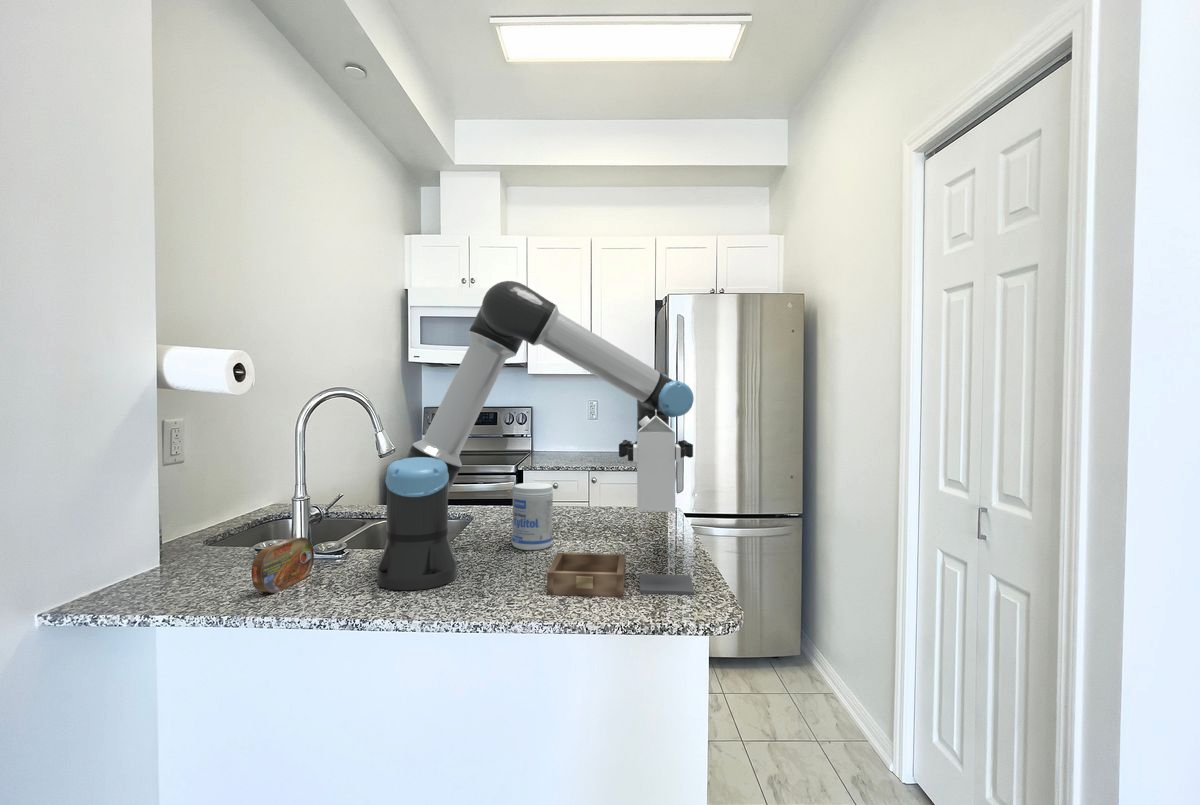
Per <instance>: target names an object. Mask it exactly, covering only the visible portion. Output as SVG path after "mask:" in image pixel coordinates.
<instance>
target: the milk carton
mask: <svg viewBox="0 0 1200 805" xmlns="http://www.w3.org/2000/svg"><path fill="white" fill-rule="evenodd" d="M639 424H640V425H641V428H640V429H639V430H638V432H637V431H636V441H637V462H636V463H637V464H636V466H637V468H636V476H637V477H636V485H637V486H636V489H637V494H636V498H637V499H636V500H637V501H636V502H637V504H636V508H637V509H636V510H637V512H651V513H653V512H657V513H659V512H660V513H661V512H664V513H668V512H670V513H671V512H672V513H673V512H676V460H675V443H676V432H675V430H674V429H673V428H672V427H671V426H670V425H669V426H668V425H667V424H666V423H665V422H664V421H662V420H661V419H660V418H659V417H658V416H657V411H656V410H655V416H654V417H653V418H652V419H651V420H650V419H649V418H648V417H647V416H646V417H644V418H643V419H642V420H641V421H640V422H639Z"/></svg>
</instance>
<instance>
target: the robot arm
mask: <svg viewBox="0 0 1200 805" xmlns="http://www.w3.org/2000/svg"><path fill="white" fill-rule="evenodd" d="M467 333H468V336H469V339H470V344H469V346H468V348H467V350H466V352H465V354H464V355H463V358H462V360H461V362H460V364H459V366H458V368H457V369H456V370H457V371H456V372H455V374H454V376H453V378H452V380H451V383H450V385H449V386H448V388H447V390H446V392H445V394H444V397H443V398H442V399H441V403H440V404H439V406H438V409H437V410H436V412H435V414H434V416H433V418H432V420H431V423H430V424H429V426H428V429H427V431H426V433H425V434H424V436H423V438H422V439H421V440H418V441H416V442H413V443H412V445H411V447H410V449H409V451H408V453H407V455H406V457H405V458H402V459H398V460H395V461H393V462H391V463H390V464H389V465H388V466H387V469H386V476H385V481H384V482H385V484H386V542H385V546H384V549H383V552H382V555H381V559H380V561H379V564H378V568H377V572H376V575H377V576H376V581H377V582H376V583H377V585H379V586H380V587H382V588H384V589H387V590H388V589H389V590H392V591H393V590H396V591H419V590H426V589H432V588H436V587H440V586H443V585H447V584H449V583H451V582H453V581H455V580H456V578H457V575H458V568H457V567H458V565H457V561H456V558H455V555H454V552H453V548H452V547H451V544H450V540H449V531H448V528H449V513H448V512H449V509H448V507H449V493H450V491H451V488H452V486H453V485H454V483H455V481H456V479H457V477H458V474H459V472H460V470H461V469H462V466H463V463H462V460H461V458H460V455H461V452H462V451H463V448H464V446H465V444H466V442H467V441H468V439H469V436H470V434H471V432H472V430H473V428H474V426H475V423H476V422H477V420H478V418H479V416H480V413H481V411H482V409H483V408H484V406H485V404H486V401H487V399H488V397H489V395H490V393H491V391H492V390H493V387H494V385H495V383H496V381H497V379H498V377H499V375H500V373H501V370H502V369H503V366H505V363H506V361H507V360H508V359H511V358H513V357H516V355H517V353H518V351H519V349H520V347H521V346H522V344H523V341H525V342H527V343H528V344H530V345H532V346H538V345H539V346H540V345H541V346H543V347H545V348H546V349H548V350H550V351H552V352H554V353H556V354H557V355H559V356H561V357H562V358H564V359H566V360H567V361H570V362H571V363H573V364H575V365H577V366H578V367H579V368H582V369H583V370H585V371H587V372H588V373H590V374H592V375H595V376H596V377H598V378H599V379H601V380H603V381H605V382H606V383H608V384H609V385H612V386H614V387H615V388H617V389H618V390H620V391H622V392H624V393H626V394H627V395H629V396H630V397H632V398H634V399H636V409H637V410H636V416H637V417H636V419H637V420H636V433H637V432H638V430H639V429H640V428H641V425H640V424H639V422H640V421H641V420H642V419H643V418H644V417H646V416H647V417H648V418H649V419H650V420H651V419H652V418H653V417H654V416H655V410H656V411H657V416H658V417H659V418H660V419H661V420H662V421H664V422H665V423H666V424H667V425H668V426H669V427H670V425H669V422H670V421H669V420H670V418H676V417H682V416H684V415H686V414H687V413H688V412H689V411H690V410H691V409H692V407H693V404H694V392H693V390H692V389H691V387H690V386H689V385H688V384H686V382H682V381H680V380H674V379H671V378H669V376H668V375H667V374H662V373H661V372H660V371H659V370H656V369H655V368H652V367H651V366H650V365H648V364H646V363H644V362H643V361H641V360H639V359H638V358H636V357H634V356H633V355H631V354H629V353H628V352H626V351H624V349H623V350H622V349H621V348H619V347H618V346H616V345H614V344H612V343H611V342H610V341H608V340H606V339H605V338H602V337H601V336H599V335H597V334H596V333H594V332H592V331H590V330H589V329H587V328H586V327H584V326H582V325H581V324H579V323H577V322H576V321H574V320H572V319H571V318H569V317H567V316H566V315H564V314H562V313H561V312H559V308H558V305H557V304H555V303H553V301H550V300H548V299H547V298H545V297H544V296H542V295H541V294H540V293H538V292H536V291H535V290H533V289H531V288H530V287H528V286H527V285H525V284H523V283H521V282H517V281H513V280H505V281H499V282H497V283H496V284H494V285H492V286H491V287H490V288H489V289H488V290H487V291H486V292H485V294H484V296H483V298H482V302H481V305H480V308H479V311H478V312H477V314H476V315H475V318H474V320H473V322H472V324H471V326H470V329H469V330H468V332H467ZM669 417H670V418H669ZM626 456H627V461H628V462H632V463H637V440H636V441H635V442H633V443H632V440H628V439H624V440H622V442H620V443H619V444H618V457H620V458H625V457H626ZM685 457H686V458H692V457H694V444H693V443H690V442H688V441H687V440H685V439H683V440H677V442H675V463H681V459H682V458H685Z"/></svg>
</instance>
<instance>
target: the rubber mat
mask: <svg viewBox="0 0 1200 805" xmlns="http://www.w3.org/2000/svg"><path fill="white" fill-rule="evenodd" d="M639 594H648V595H650V594H651V595H652V594H653V595H681V596H683V595H686V596H687V595H688V596H694V595H695V589H694V586H693V581H692V578H691V575H690V574H660V573H659V574H657V573H655V574H654V573H652V574H651V573H640V574H639Z"/></svg>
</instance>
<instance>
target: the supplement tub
mask: <svg viewBox="0 0 1200 805" xmlns="http://www.w3.org/2000/svg"><path fill="white" fill-rule="evenodd" d="M553 492H554V491H553V485H552V484H550V483H546V482H545V483H543V482H524V483H523V482H522V483H517V484H515V485H513V492H512V521H511V523H512V524H511V525H512V526H511V528H512V529H511V530H512V531H511V533H512V534H511V543H512V546H513V547H514V548H516V549H518V550H523V551H539V550H545V549H547V548H549V547H551V546H552V544H553V510H554V509H553V502H554V500H553V497H554V493H553Z"/></svg>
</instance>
